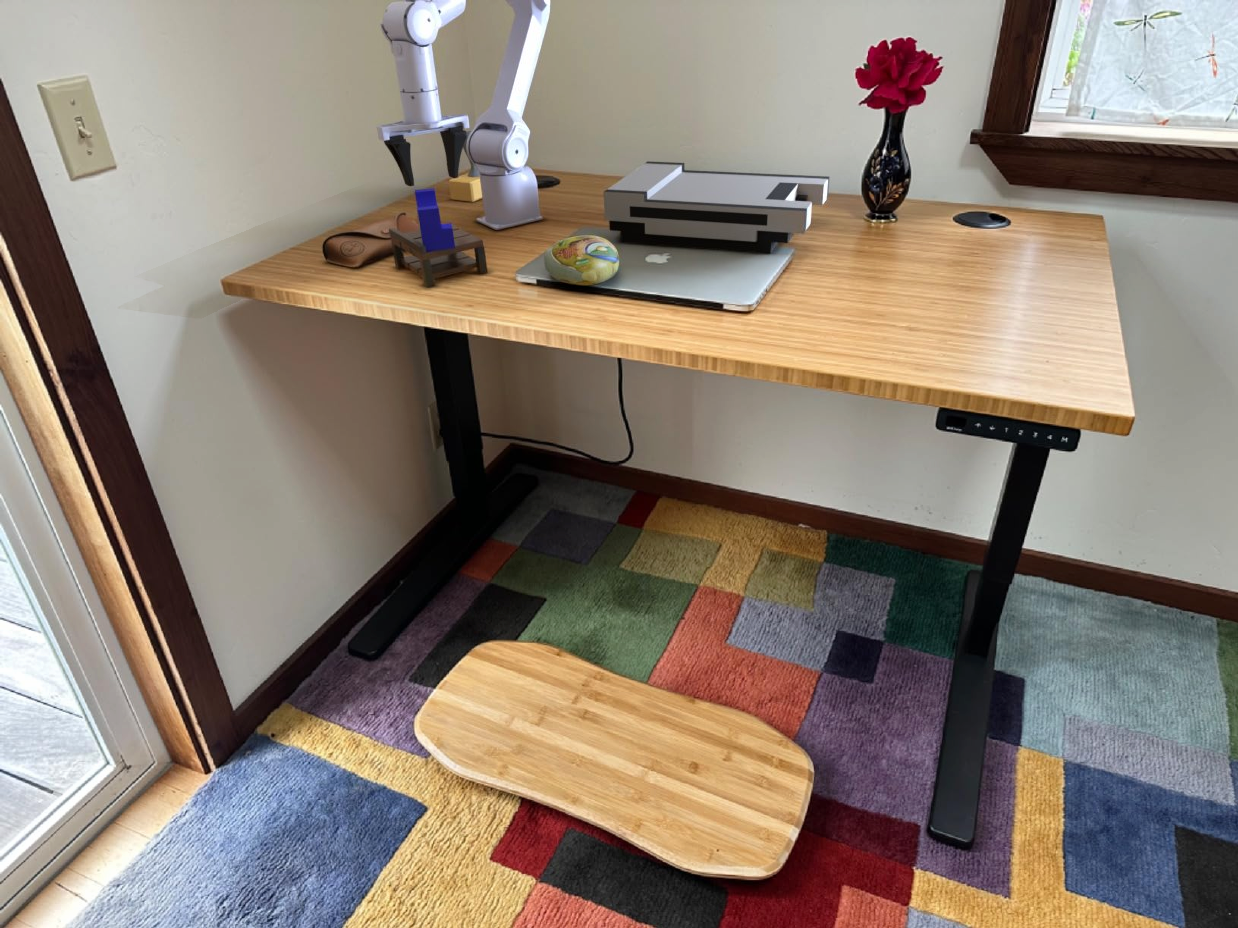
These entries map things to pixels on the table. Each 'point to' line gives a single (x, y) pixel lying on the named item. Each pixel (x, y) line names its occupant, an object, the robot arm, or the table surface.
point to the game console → (711, 207)
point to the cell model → (582, 260)
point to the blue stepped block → (432, 222)
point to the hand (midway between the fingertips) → (431, 181)
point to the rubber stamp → (466, 183)
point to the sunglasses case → (365, 242)
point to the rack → (437, 255)
